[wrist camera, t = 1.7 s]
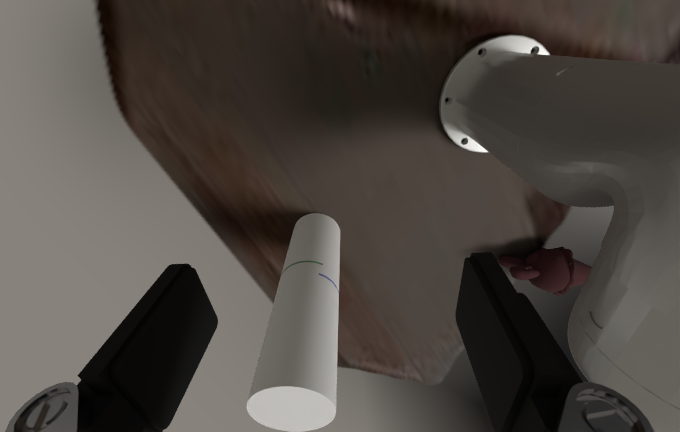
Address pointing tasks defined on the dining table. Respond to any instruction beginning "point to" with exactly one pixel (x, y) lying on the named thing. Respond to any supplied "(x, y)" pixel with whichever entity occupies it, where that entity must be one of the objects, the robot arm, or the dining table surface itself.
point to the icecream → (549, 269)
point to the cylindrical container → (302, 334)
